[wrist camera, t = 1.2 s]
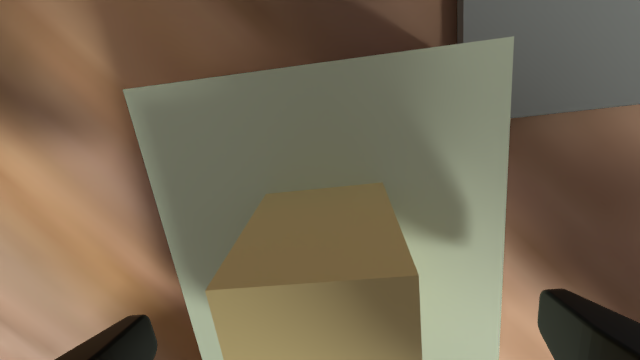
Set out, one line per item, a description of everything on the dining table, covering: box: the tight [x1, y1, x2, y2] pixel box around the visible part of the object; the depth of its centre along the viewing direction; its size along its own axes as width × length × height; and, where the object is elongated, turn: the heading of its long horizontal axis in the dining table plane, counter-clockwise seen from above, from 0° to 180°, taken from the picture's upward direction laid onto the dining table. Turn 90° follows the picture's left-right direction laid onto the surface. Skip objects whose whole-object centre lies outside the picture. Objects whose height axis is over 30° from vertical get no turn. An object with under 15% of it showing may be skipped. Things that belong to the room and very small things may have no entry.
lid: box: [123, 36, 514, 360], centre depth 8 cm, size 9×11×6 cm
